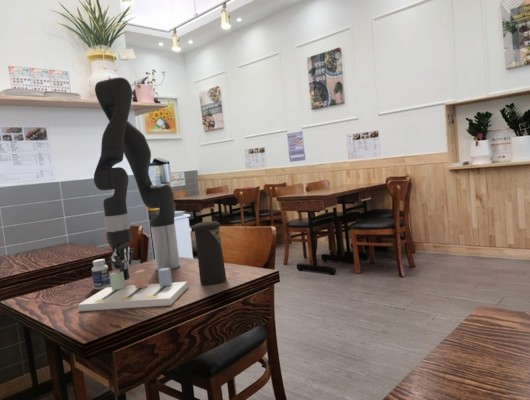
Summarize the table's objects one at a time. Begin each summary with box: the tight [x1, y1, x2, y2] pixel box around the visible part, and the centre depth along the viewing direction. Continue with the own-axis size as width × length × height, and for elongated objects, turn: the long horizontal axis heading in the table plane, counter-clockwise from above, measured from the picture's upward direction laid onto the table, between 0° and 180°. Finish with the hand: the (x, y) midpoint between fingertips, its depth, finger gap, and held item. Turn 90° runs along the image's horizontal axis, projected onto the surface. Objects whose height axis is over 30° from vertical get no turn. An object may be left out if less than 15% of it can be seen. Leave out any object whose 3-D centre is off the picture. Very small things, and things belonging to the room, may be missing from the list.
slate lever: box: [157, 268, 173, 286], centre depth 128 cm, size 3×3×5 cm
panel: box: [77, 281, 189, 312], centre depth 124 cm, size 16×28×2 cm, turn 83°
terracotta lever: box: [133, 269, 149, 288], centre depth 129 cm, size 3×3×5 cm
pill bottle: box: [91, 258, 111, 290], centre depth 143 cm, size 5×5×10 cm
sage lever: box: [109, 271, 126, 290], centre depth 130 cm, size 3×3×5 cm
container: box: [192, 220, 227, 286], centre depth 134 cm, size 9×9×20 cm
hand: (125, 279), depth 135 cm, fingers closed
